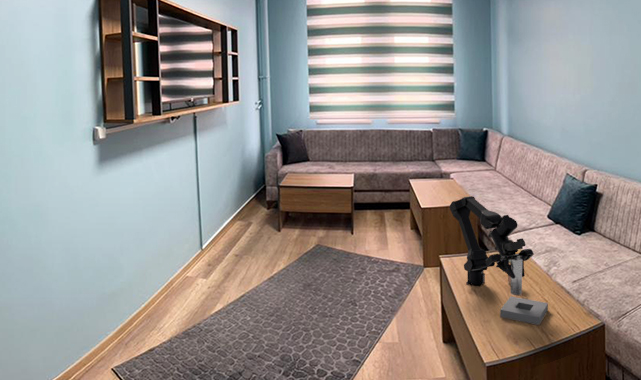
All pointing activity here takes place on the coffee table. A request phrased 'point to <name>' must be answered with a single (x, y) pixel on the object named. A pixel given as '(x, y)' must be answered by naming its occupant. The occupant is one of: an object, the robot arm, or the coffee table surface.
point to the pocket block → (524, 310)
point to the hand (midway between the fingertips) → (518, 277)
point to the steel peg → (516, 276)
